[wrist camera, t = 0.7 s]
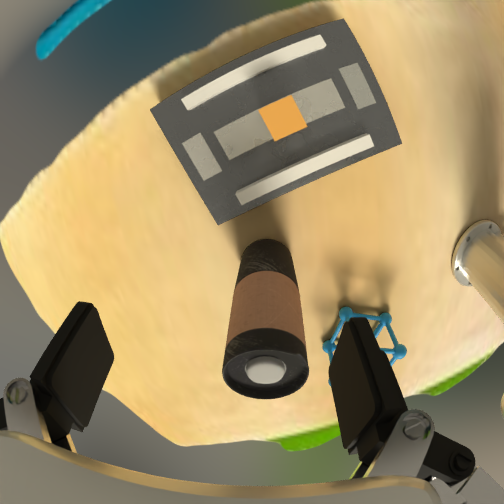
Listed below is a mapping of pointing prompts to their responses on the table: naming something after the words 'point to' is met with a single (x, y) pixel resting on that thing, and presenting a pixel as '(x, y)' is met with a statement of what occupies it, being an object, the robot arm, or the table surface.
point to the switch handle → (282, 118)
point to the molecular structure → (384, 320)
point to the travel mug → (266, 326)
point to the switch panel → (256, 132)
